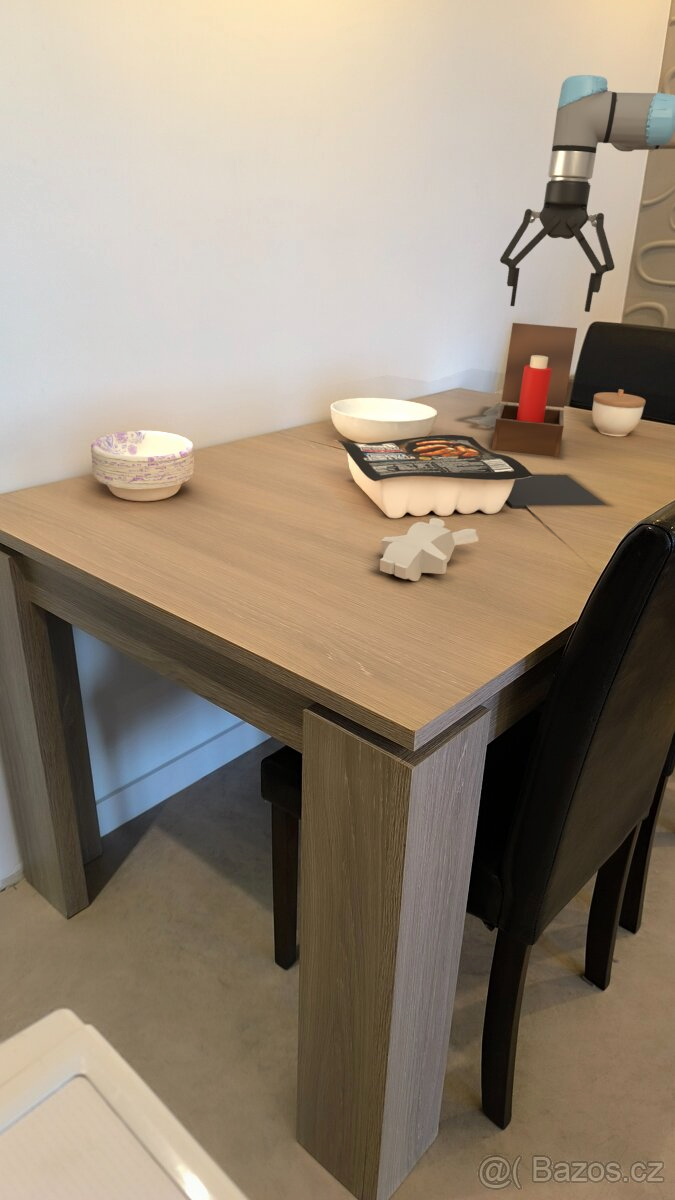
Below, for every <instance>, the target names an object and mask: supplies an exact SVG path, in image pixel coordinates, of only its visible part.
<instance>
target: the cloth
mask: <svg viewBox="0 0 675 1200" xmlns="http://www.w3.org/2000/svg"><path fill="white" fill-rule="evenodd" d="M501 404H502V403H496V404H495V405H493V406H492V407H489V408H488V409H486V410H485V411H484V412H483V413H482V414H483V415H482V416H478V417H472V418H467V419H466V421H477V422H476V424H479V425H483V426H486V429H495V423H496V418H497V415H498V412H499V409H500V406H501ZM506 404H509V402H506Z"/></svg>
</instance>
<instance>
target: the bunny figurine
mask: <svg viewBox="0 0 675 1200" xmlns="http://www.w3.org/2000/svg"><path fill="white" fill-rule="evenodd" d="M445 525H446V524H445V521H444V520H443V519H441V518H437V517H432V518H430V519H429V521H428V522H424V521H418V522H415V523H414V524H412V525H411V526H410V527H409V529H408V531H407V532H406V534H404V535H403V534H402V535H395V536H385V537H383V538H382V539H381V550H380V551H381V552H380V553H381V555H383V556H382V558H380V559H379V571H381V572H383V573H386V574H389V575H394V576H395V577H398V578H400V579H403V580H409V581H412V582H418V581H419V580H420V579H421V576H422V574H436V575H437V574H440V575H443V574H446V573H447V568H448V563H449V562H450V559H451V557H452V555H453V552H454V550H455V547H456V546H459V545H467V544H474V543H476V542H479V539H480V537H479V534H478V532H477V529H475V528H462V529H459V530H457V531H454V532H452V531H451V530H450V529H448V528H446V527H444V526H445Z"/></svg>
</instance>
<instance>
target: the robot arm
mask: <svg viewBox="0 0 675 1200" xmlns="http://www.w3.org/2000/svg"><path fill="white" fill-rule="evenodd" d="M559 92H560V93H559V98H558V104H557V108H556V116H555V123H554V132H553V138H552V146H551V152H550V159H549V164H548V173H547V176H548V178H550V180H549V181H548V182H547V183H546V187H545V192H544V200H543V207H542V209H541V211H539V210H538V211H537V210H533V209H530V208H527V209H526V210H525V211H524V215H523V219H522V223H521V224H520V226H519V228H517V230H516V232H515V233H514V235H513V237H512V239H511V240H510V242H509V244H508V245H507V247H506V248H505V250H504V252H503V253H502V255H501V257H500V258H499V262H500V263H501V264H503V265H505V266H507V267H508V273H507V278H506V279H507V281H506V285H507V287H512V290H511V296H510V297H511V298H510V307H515V305H516V297H517V290H518V284H519V283H518V282H519V277H520V267H517V266H518V265H519V263H521V262H522V261H523V259H525V257H527V255H528V254H529V253H531V252H532V250H533V249H534V248H535V247H537V245H538V244H539V243H541V241H542V240H543V239H544V238H545V237H546V236H548V237H550V238H551V239H558V238H562V239H565V240H570V239H572V238H575V239H576V241H577V242H578V244H579V247H581V250H582V251H583V252H584V254H585V256H586V257H587V260H588V261H589V262H590V264H591V265H592V268H593V269H594V270H595V272H590V276H589V281H588V286H587V287H588V288H587V294H586V298H585V299H586V300H585V303H584V304H585V305H584V312H585V313H590V311H591V306H592V300H593V294H594V293H597V294H598V293H599V292H600V291H601V285H602V281H603V275H604V274H605V273H608V272H611V271H613V270H614V269H615V262H614V259H613V256H612V255H613V254H612V252H611V248H610V245H609V242H608V239H607V234H606V232H605V227H604V224H605V223H604V222H605V215H604V213H603V212H598V213H592V214H591V213H588V205H589V204H588V203H589V198H590V191H591V186H592V185H591V184H590V182H589V180H591V179H592V178H593V173H594V169H595V161H596V156H597V149H598V144H599V143H600V144H601V143H602V144H611V145H612V146H613V148H615V149H616V150H617V151H619V152H626V153H627V152H633V151H655V150H675V94H672V93H671V94H669V93H662V92H659V91H657V92H616V91H612V90H609V87H608V79H607V78H606V77H604V76H601V75H591V74H578V75H571V76H568V77H567V78H565V79H564V80H563V82H562V84H561V87H560V91H559ZM537 219H539V222H540V223H541V225H542V229H541V230H540V231H539V232H537V234H536V235H535V236H533V238H532V239H531V240H530V241H529V242H528V243H527V244H526V245H525V246H524V247H523V248H522V249H521V250H520V251H519V252H518V253H517V254H516V255H515V256H514V257H513V258H511V254H512V253H513V252H514V250H515V248H516V246H517V245H518V244H519V242H520V240H521V238H522V237H523V235H524V233H525V232H526V231H527V229H528V227H529V225H530V224H533V223H535V221H536V220H537ZM588 222H589V223H590V225H591V227H592V228H595V233H596V236H597V240H598V243H599V247H600V250H601V253H602V257H603V260H604V264H601V262H600V260H599V259H598V257H597V256H596V253H595V252H594V250H593V249H592V247H591V246H590V243H589V242H588V240H587V239H586V237H585V235H584V234H583V232H582V228H583V227H584V226H585V225H586V224H587V223H588Z"/></svg>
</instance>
